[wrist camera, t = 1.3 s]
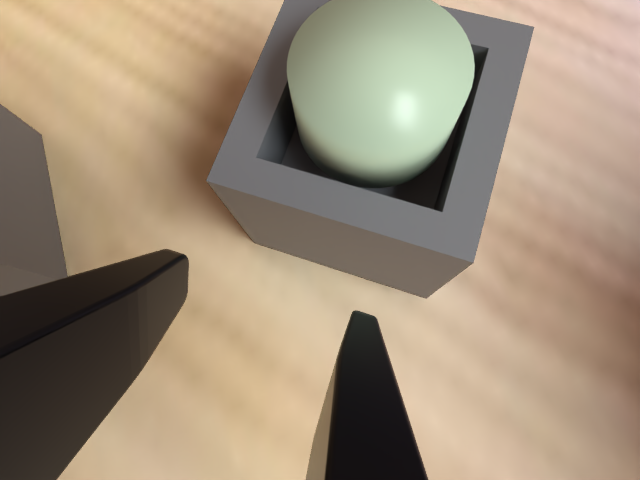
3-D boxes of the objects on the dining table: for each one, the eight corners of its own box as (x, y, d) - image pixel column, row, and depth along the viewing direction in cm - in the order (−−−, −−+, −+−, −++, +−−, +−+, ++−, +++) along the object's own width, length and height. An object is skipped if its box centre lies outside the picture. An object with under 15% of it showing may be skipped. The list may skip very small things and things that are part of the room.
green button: (427, 207, 15) (447, 171, 12) (275, 163, 16) (259, 118, 13) (467, 72, 16) (493, 10, 13) (325, 37, 17) (321, -29, 14)
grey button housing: (426, 298, 21) (473, 262, 13) (254, 242, 22) (206, 180, 15) (471, 137, 23) (534, 27, 15) (311, 95, 24) (296, -28, 17)
